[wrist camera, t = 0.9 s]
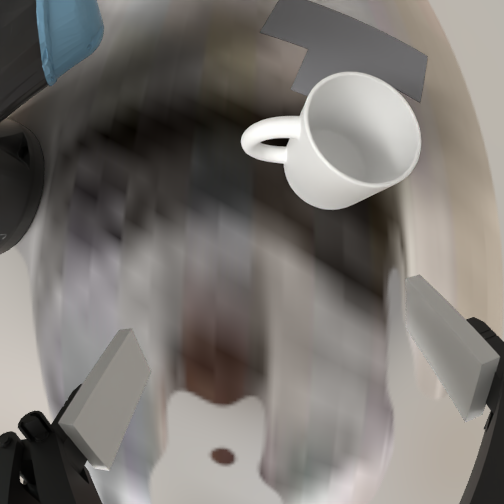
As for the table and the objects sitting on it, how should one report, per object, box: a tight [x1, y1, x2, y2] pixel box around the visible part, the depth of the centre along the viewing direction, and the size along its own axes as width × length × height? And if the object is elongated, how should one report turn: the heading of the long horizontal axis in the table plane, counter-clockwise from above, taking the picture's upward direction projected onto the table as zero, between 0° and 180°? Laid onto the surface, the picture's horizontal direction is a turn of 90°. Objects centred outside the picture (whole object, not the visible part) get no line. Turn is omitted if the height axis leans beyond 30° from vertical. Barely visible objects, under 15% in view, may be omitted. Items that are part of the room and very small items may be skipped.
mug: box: [241, 72, 421, 210], centre depth 23 cm, size 12×8×10 cm
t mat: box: [260, 0, 428, 102], centre depth 29 cm, size 19×14×1 cm
